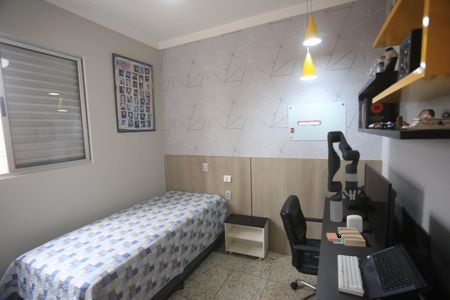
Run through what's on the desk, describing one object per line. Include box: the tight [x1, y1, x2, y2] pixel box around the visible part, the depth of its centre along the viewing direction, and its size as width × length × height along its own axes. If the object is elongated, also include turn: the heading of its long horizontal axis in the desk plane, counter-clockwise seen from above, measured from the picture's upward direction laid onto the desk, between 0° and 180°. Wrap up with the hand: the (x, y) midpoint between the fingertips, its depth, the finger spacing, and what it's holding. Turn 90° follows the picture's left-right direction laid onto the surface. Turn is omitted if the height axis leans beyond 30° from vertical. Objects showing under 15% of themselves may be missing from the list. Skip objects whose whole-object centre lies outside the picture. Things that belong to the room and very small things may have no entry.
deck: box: [337, 226, 367, 248], centre depth 156 cm, size 20×12×4 cm, turn 165°
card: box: [326, 232, 339, 242], centre depth 158 cm, size 9×6×2 cm, turn 166°
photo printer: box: [346, 214, 363, 233], centre depth 167 cm, size 10×4×12 cm, turn 81°
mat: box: [332, 238, 344, 245], centre depth 157 cm, size 14×6×1 cm, turn 165°
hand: (351, 204), depth 153 cm, fingers closed
